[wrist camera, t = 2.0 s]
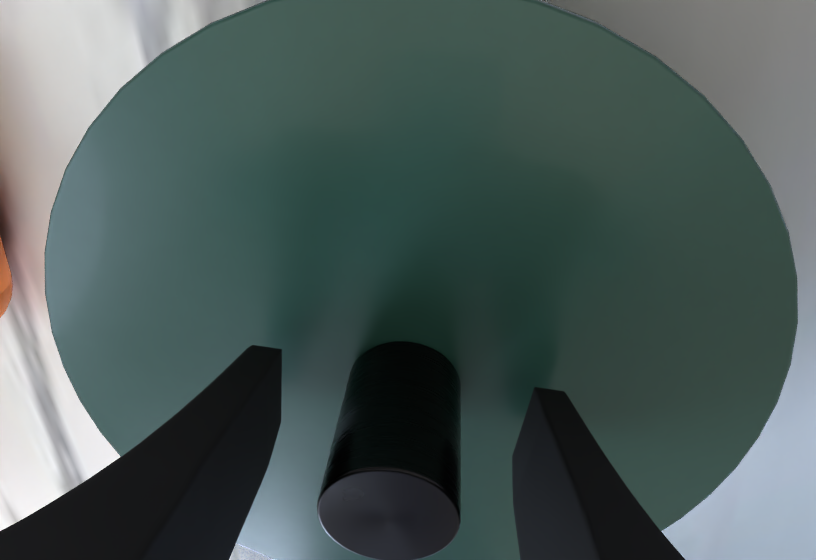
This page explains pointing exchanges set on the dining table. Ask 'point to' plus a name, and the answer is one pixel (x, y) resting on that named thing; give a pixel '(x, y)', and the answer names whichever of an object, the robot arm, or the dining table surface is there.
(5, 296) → the carrot
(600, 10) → the dining table surface
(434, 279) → the pot lid
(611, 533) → the robot arm
